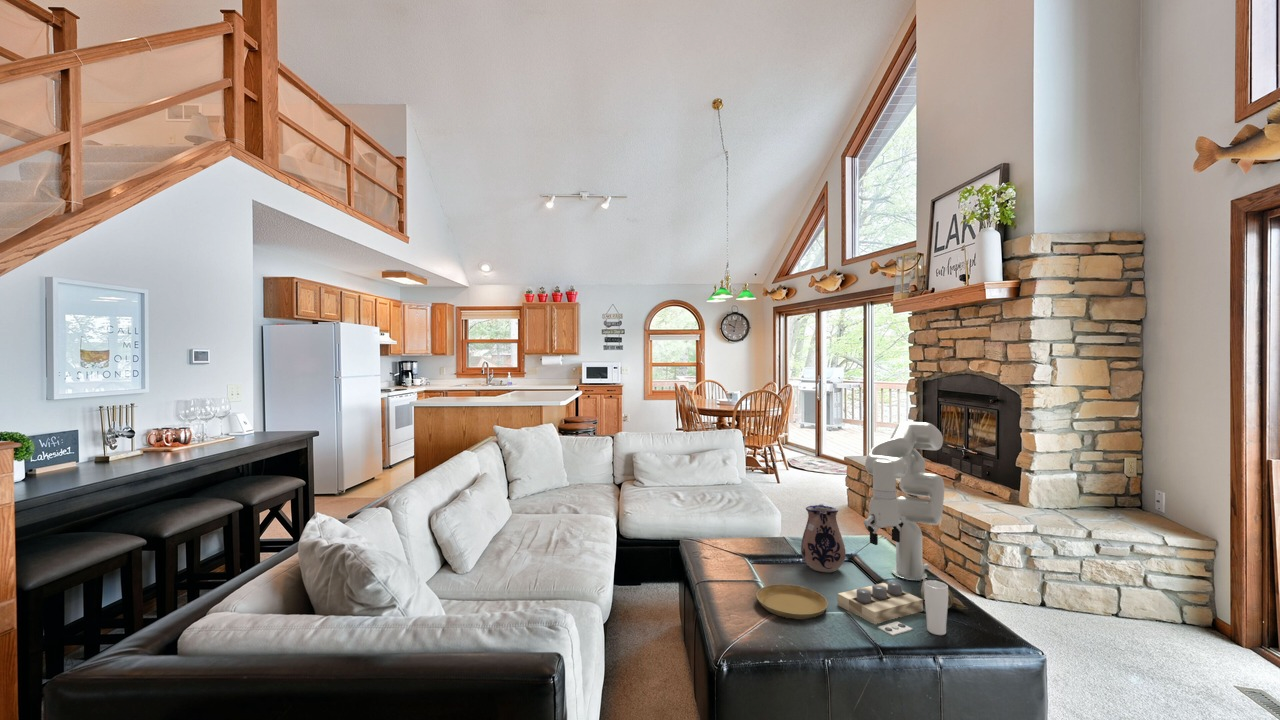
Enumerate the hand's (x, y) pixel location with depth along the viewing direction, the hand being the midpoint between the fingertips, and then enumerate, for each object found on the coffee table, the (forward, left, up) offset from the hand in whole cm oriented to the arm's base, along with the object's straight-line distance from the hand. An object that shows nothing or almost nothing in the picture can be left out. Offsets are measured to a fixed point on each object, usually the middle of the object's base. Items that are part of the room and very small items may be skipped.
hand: (884, 542), depth 191 cm
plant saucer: (+32, -12, -22) cm, 41 cm away
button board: (+5, +2, -21) cm, 22 cm away
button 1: (+13, +2, -19) cm, 23 cm away
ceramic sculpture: (-15, +10, -22) cm, 28 cm away
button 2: (-2, +2, -19) cm, 19 cm away
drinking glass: (+3, +22, -22) cm, 31 cm away
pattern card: (+13, +15, -21) cm, 29 cm away
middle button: (+5, +2, -19) cm, 20 cm away
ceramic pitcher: (-5, -36, -22) cm, 42 cm away
